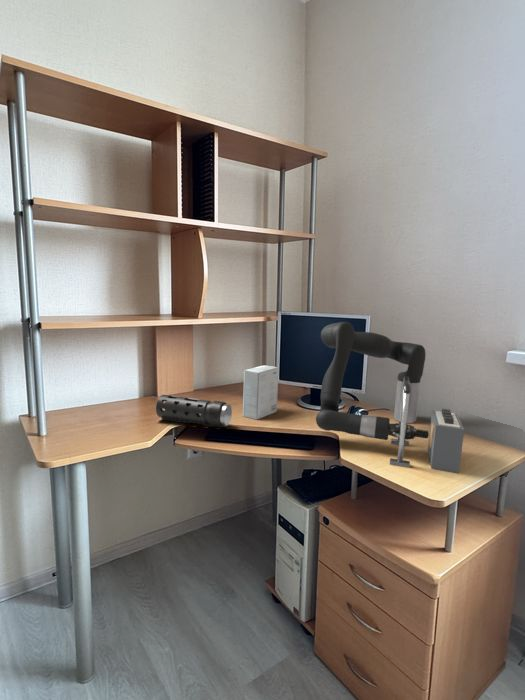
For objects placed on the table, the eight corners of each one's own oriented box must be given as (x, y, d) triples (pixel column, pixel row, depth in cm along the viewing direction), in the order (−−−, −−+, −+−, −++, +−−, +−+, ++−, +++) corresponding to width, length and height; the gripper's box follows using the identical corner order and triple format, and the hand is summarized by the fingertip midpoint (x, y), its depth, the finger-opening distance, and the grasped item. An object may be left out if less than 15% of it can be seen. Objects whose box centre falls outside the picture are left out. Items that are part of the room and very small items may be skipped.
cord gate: (391, 441, 157) (397, 374, 153) (408, 443, 155) (415, 376, 151) (389, 464, 136) (397, 387, 132) (409, 467, 134) (417, 389, 130)
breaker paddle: (429, 442, 145) (431, 422, 144) (445, 444, 143) (447, 424, 142) (430, 448, 139) (433, 427, 138) (447, 450, 137) (449, 429, 136)
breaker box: (427, 448, 151) (432, 405, 149) (452, 452, 149) (457, 408, 146) (431, 468, 134) (436, 419, 132) (458, 473, 132) (465, 423, 129)
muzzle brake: (167, 416, 173) (167, 391, 172) (232, 425, 166) (233, 399, 164) (155, 423, 164) (155, 397, 163) (222, 433, 156) (223, 406, 155)
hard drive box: (262, 408, 190) (265, 364, 188) (277, 412, 186) (279, 367, 183) (241, 416, 178) (243, 369, 175) (256, 420, 173) (259, 372, 171)
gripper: (374, 421, 140) (430, 429, 135) (376, 411, 152) (428, 418, 147) (372, 443, 141) (428, 452, 136) (374, 431, 153) (425, 439, 148)
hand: (428, 434), depth 142 cm, fingers closed
